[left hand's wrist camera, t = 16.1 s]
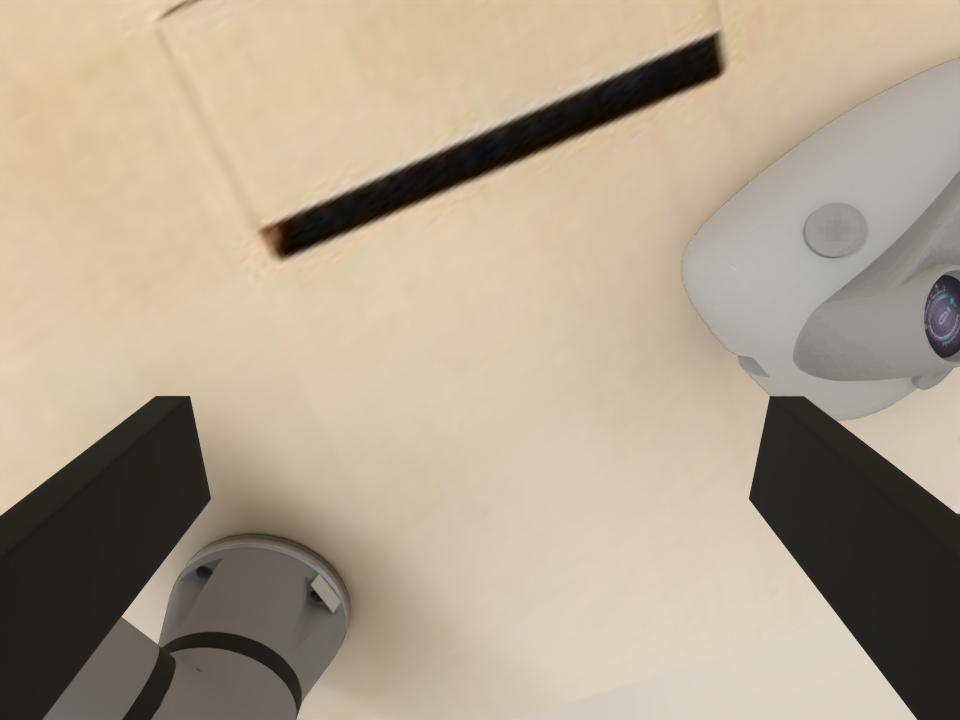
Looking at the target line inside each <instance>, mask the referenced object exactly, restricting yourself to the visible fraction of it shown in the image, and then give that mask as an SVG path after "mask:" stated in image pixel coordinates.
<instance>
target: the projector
mask: <svg viewBox="0 0 960 720" xmlns="http://www.w3.org/2000/svg"><path fill="white" fill-rule="evenodd" d="M681 275H682V281H683V285H684V288H685V290H686V292H687V295H688V297H689V299H690V301H691V302H692V304H693V306H694V307H695V309H696V311H697V312H698V314H699V315H700V317H701V318H702V320H703V321H704V322H705V324H706V325H707V326H708V328H709V329H710V330H711V331H712V333H713V334H714V335H715V336H716V338H717V339H718V340H719V341H720V342H721V344H722V345H723V346H724V347H725V348H726V349H727V350H729V351H730V352H732V353H734V354H737V355H738V360H739V363H740V365H741V366H742V368H743V369H744V370H745V371H746V372H747V373H748V374H749V375H750V376H751V377H752V379H753V380H754V381H755V382H756V383H757V384H758V385H759V386H760V387H761V388H762V389H763V390H764V391H766V392H767V393H768V394H769V395H770V396H804V397H806V398H807V399H808V400H810V401H811V402H812V403H814V404H815V405H816V406H817V407H819V408H820V409H821V410H823V411H824V412H825V413H826V414H828V415H829V416H830V417H832V418H833V419H834V420H836V421H844V420H850V419H857V418H860V417H864V416H867V415H870V414H873V413H876V412H878V411H880V410H882V409H884V408H887V407H889V406H891V405H893V404H894V403H896V402H898V401H899V400H901V399H902V398H904V397H906V396H907V395H909V394H910V393H912V392H913V391H914V390H915V389H917V388H920V389H922V390H926V389H929V388H931V387H933V386H935V385H936V384H938V383H939V382H941V381H942V380H943V379H944V378H945V377H946V376H947V375H948V374H949V373H950V372H951V370H952V369H953V368H955V367H959V366H960V57H959V58H957V59H954V60H951V61H948V62H946V63H943V64H940V65H938V66H936V67H934V68H931V69H929V70H927V71H924V72H922V73H920V74H918V75H915V76H913V77H911V78H909V79H907V80H905V81H903V82H901V83H899V84H897V85H895V86H893V87H891V88H889V89H887V90H885V91H883V92H881V93H879V94H878V95H876V96H874V97H872V98H870V99H868V100H867V101H865V102H863V103H861V104H860V105H858V106H856V107H855V108H853V109H851V110H849V111H848V112H846V113H844V114H843V115H841V116H840V117H838V118H837V119H835V120H833V121H832V122H830V123H829V124H827V125H826V126H824V127H823V128H821V129H820V130H818V131H817V132H815V133H814V134H812V135H811V136H809V137H808V138H807V139H805V140H804V141H802V142H801V143H800V144H798V145H797V146H796V147H794V148H793V149H791V150H790V151H789V152H787V153H786V154H785V155H783V156H782V157H781V158H779V159H778V160H777V161H775V162H774V163H773V164H772V165H770V166H769V167H768V168H767V169H765V170H764V171H763V172H761V173H760V174H759V175H758V176H756V177H755V178H754V179H753V180H752V181H750V182H749V183H748V184H747V185H746V186H744V187H743V188H742V189H741V190H740V191H739V192H737V193H736V194H735V195H734V196H733V197H732V198H730V199H729V200H728V201H727V202H726V203H725V204H724V205H723V206H722V207H721V208H719V209H718V210H717V211H716V212H715V213H714V214H713V215H712V216H711V217H710V218H709V219H708V220H707V221H706V222H705V223H704V224H703V226H702V227H701V228H700V229H699V230H698V231H697V233H696V234H695V235H694V236H693V238H692V239H691V241H690V242H689V244H688V245H687V247H686V249H685V251H684V254H683V257H682V261H681Z"/></svg>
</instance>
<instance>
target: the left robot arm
mask: <svg viewBox="0 0 960 720" xmlns="http://www.w3.org/2000/svg"><path fill="white" fill-rule="evenodd" d="M210 500H211V496H210V492H209V487H208V482H207V477H206V472H205V467H204V462H203V457H202V453H201V448H200V443H199V438H198V433H197V428H196V423H195V418H194V414H193V409H192V404H191V399H190V396H156V397H154V398H153V399H152V400H150V401H149V402H148V403H146V404H145V405H144V406H143V407H141V408H140V409H139V410H137V411H136V412H135V413H134V414H132V415H131V416H130V417H128V418H127V419H126V420H124V421H123V422H122V423H121V424H119V425H118V426H117V427H115V428H114V429H113V430H111V431H110V432H109V433H108V434H106V435H105V436H104V437H102V438H101V439H100V440H98V441H97V442H96V443H95V444H93V445H92V446H91V447H89V448H88V449H87V450H85V451H84V452H83V453H82V454H80V455H79V456H78V457H76V458H75V459H74V460H72V461H71V462H70V463H69V464H67V465H66V466H65V467H63V468H62V469H61V470H59V471H58V472H57V473H56V474H54V475H53V476H52V477H50V478H49V479H48V480H47V481H45V482H44V483H43V484H41V485H40V486H39V487H37V488H36V489H35V490H34V491H32V492H31V493H30V494H28V495H27V496H26V497H24V498H23V499H22V500H21V501H19V502H18V503H17V504H15V505H14V506H13V507H11V508H10V509H9V510H8V511H6V512H5V513H4V514H2V515H1V516H0V720H296V718H297V715H298V712H299V709H300V706H301V703H302V701H303V700H304V698H305V697H306V695H307V694H308V693H309V691H310V690H311V689H312V687H313V686H314V684H315V683H316V682H317V680H318V679H319V678H320V676H321V675H322V673H323V672H324V671H325V669H326V668H327V666H328V665H329V664H330V662H331V661H332V660H333V658H334V657H335V655H336V654H337V652H338V650H339V648H340V647H341V645H342V642H343V640H344V637H345V633H346V630H347V626H348V622H349V618H350V601H349V596H348V593H347V590H346V588H345V586H344V583H343V582H342V580H341V578H340V577H339V575H338V574H337V573H336V571H335V570H334V569H333V568H332V567H331V566H330V565H329V564H328V563H327V562H326V561H325V560H324V559H323V558H321V557H320V556H319V555H317V554H316V553H314V552H313V551H311V550H309V549H307V548H306V547H304V546H302V545H299V544H297V543H295V542H292V541H289V540H286V539H282V538H278V537H274V536H268V535H239V536H232V537H228V538H224V539H222V540H219V541H216V542H214V543H212V544H210V545H208V546H206V547H205V548H203V549H202V550H200V551H199V552H198V553H197V554H196V555H195V556H194V557H193V558H192V559H191V560H190V561H189V562H188V564H187V565H186V567H185V568H184V569H183V571H182V572H181V574H180V575H179V577H178V578H177V580H176V582H175V584H174V586H173V589H172V592H171V594H170V598H169V602H168V606H167V610H166V614H165V618H164V622H163V626H162V631H161V635H160V639H159V643H158V644H156V643H155V642H154V641H152V640H151V639H150V638H148V637H147V636H146V635H145V634H143V633H142V632H141V631H139V630H138V629H137V628H135V627H134V626H133V625H131V624H130V623H129V622H127V621H126V620H125V619H123V618H122V617H121V616H122V615H123V614H124V612H125V611H126V610H127V608H128V607H129V606H130V604H131V603H132V602H133V601H134V599H135V598H136V597H137V595H138V594H139V593H140V591H141V590H142V589H143V587H144V586H145V585H146V584H147V582H148V581H149V580H150V578H151V577H152V576H153V574H154V573H155V572H156V570H157V569H158V568H159V567H160V565H161V564H162V563H163V561H164V560H165V559H166V557H167V556H168V555H169V553H170V552H171V551H172V549H173V548H174V547H175V546H176V544H177V543H178V542H179V540H180V539H181V538H182V536H183V535H184V534H185V532H186V531H187V530H188V529H189V527H190V526H191V525H192V523H193V522H194V521H195V519H196V518H197V517H198V515H199V514H200V513H201V511H202V510H203V509H204V508H205V506H206V505H207V504H208V502H209V501H210ZM749 500H750V501H751V502H752V504H753V505H754V506H755V508H756V509H757V510H758V511H759V513H760V514H761V515H762V517H763V518H764V519H765V521H766V522H767V523H768V525H769V526H770V527H771V529H772V530H773V531H774V532H775V534H776V535H777V536H778V538H779V539H780V540H781V542H782V543H783V544H784V546H785V547H786V548H787V549H788V551H789V552H790V553H791V555H792V556H793V557H794V559H795V560H796V561H797V563H798V564H799V565H800V567H801V568H802V569H803V570H804V572H805V573H806V574H807V576H808V577H809V578H810V580H811V581H812V582H813V584H814V585H815V586H816V587H817V589H818V590H819V591H820V593H821V594H822V595H823V597H824V598H825V599H826V601H827V602H828V603H829V604H830V606H831V607H832V608H833V610H834V611H835V612H836V614H837V615H838V616H839V618H840V619H841V620H842V621H843V623H844V624H845V625H846V627H847V628H848V629H849V631H850V632H851V633H852V635H853V636H854V637H855V639H856V640H857V641H858V642H859V644H860V645H861V646H862V648H863V649H864V650H865V652H866V653H867V654H868V656H869V657H870V658H871V660H872V661H873V662H874V663H875V665H876V666H877V667H878V669H879V670H880V671H881V672H882V674H883V675H884V677H885V678H886V679H887V680H888V682H889V683H890V684H891V686H892V687H893V688H894V690H895V691H896V692H897V694H898V695H899V696H900V697H901V699H902V700H903V701H904V703H905V704H906V705H907V707H908V708H909V709H910V711H911V712H912V713H913V715H914V716H915V717H916V718H917V720H960V514H956V513H955V512H954V511H952V510H951V509H950V508H949V507H947V506H946V505H945V504H943V503H942V502H941V501H939V500H938V499H937V498H936V497H934V496H933V495H932V494H930V493H929V492H928V491H926V490H925V489H924V488H923V487H921V486H920V485H919V484H917V483H916V482H915V481H913V480H912V479H911V478H910V477H908V476H907V475H906V474H904V473H903V472H902V471H901V470H899V469H898V468H897V467H895V466H894V465H893V464H891V463H890V462H889V461H888V460H886V459H885V458H884V457H882V456H881V455H880V454H878V453H877V452H876V451H875V450H873V449H872V448H871V447H869V446H868V445H867V444H865V443H864V442H863V441H862V440H860V439H859V438H858V437H856V436H855V435H854V434H852V433H851V432H850V431H849V430H847V429H846V428H845V427H843V426H842V425H841V424H839V423H838V422H837V421H836V420H834V419H833V418H832V417H830V416H829V415H828V414H826V413H825V412H824V411H823V410H821V409H820V408H819V407H817V406H816V405H815V404H814V403H812V402H811V401H810V400H808V399H807V398H806V397H804V396H770V399H769V404H768V409H767V414H766V418H765V423H764V428H763V433H762V438H761V443H760V448H759V453H758V457H757V462H756V467H755V472H754V477H753V482H752V487H751V492H750V496H749Z"/></svg>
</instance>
